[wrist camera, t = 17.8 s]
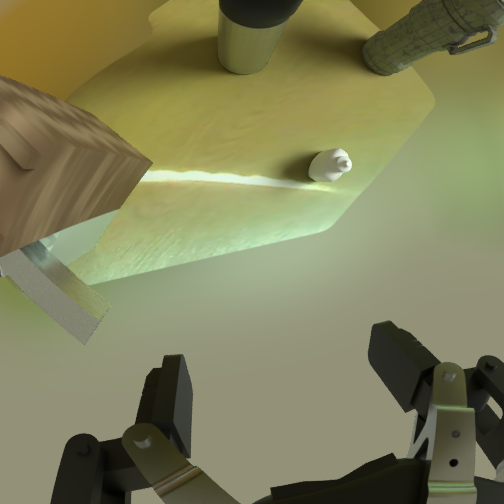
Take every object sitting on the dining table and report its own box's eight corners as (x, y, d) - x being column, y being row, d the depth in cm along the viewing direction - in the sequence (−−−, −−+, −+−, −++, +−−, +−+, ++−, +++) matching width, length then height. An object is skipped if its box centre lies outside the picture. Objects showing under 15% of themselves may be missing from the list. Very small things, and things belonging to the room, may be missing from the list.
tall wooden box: (62, 158, 42) (-79, 158, 9) (92, 114, 40) (-38, 61, 8) (119, 208, 46) (-13, 264, 13) (153, 162, 44) (38, 141, 12)
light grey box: (40, 197, 43) (-38, 214, 21) (62, 158, 42) (-18, 155, 20) (94, 247, 47) (27, 293, 25) (119, 208, 46) (53, 233, 24)
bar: (-29, 199, 22) (-48, 203, 18) (-20, 173, 22) (-39, 175, 18) (96, 327, 29) (84, 345, 25) (111, 304, 28) (99, 321, 24)
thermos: (381, 33, 41) (490, -33, 8) (404, 80, 45) (533, 38, 11) (350, 36, 41) (459, -49, 8) (374, 85, 45) (512, 30, 11)
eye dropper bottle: (337, 170, 48) (369, 169, 37) (312, 183, 49) (339, 186, 37) (326, 148, 47) (357, 142, 36) (300, 162, 47) (325, 158, 36)
